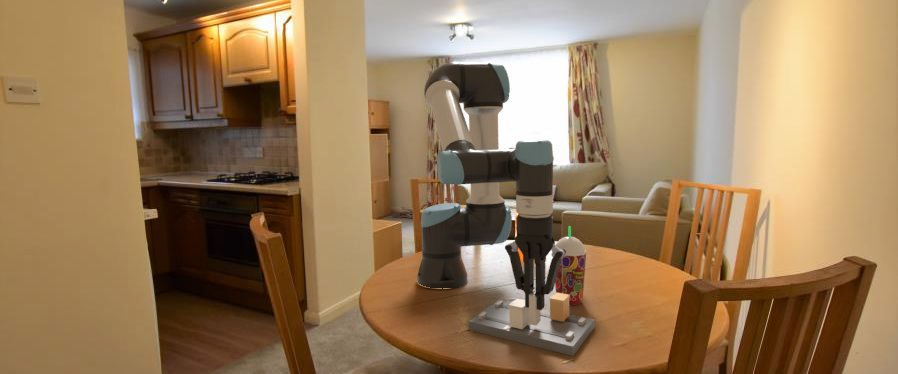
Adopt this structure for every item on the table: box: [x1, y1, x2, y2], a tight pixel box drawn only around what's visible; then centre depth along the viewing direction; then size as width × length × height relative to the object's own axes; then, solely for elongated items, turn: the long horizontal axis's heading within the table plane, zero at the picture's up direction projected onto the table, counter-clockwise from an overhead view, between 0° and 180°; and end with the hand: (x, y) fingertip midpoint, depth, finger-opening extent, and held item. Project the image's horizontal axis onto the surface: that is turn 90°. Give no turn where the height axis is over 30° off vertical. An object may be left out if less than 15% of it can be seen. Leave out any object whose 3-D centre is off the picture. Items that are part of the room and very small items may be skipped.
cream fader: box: [509, 298, 529, 329], centre depth 97 cm, size 3×4×5 cm
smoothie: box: [554, 225, 587, 306], centre depth 115 cm, size 8×8×20 cm
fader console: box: [468, 299, 596, 357], centre depth 100 cm, size 24×15×3 cm, turn 56°
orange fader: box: [549, 291, 570, 322], centre depth 100 cm, size 3×4×5 cm
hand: (534, 322), depth 96 cm, fingers closed
